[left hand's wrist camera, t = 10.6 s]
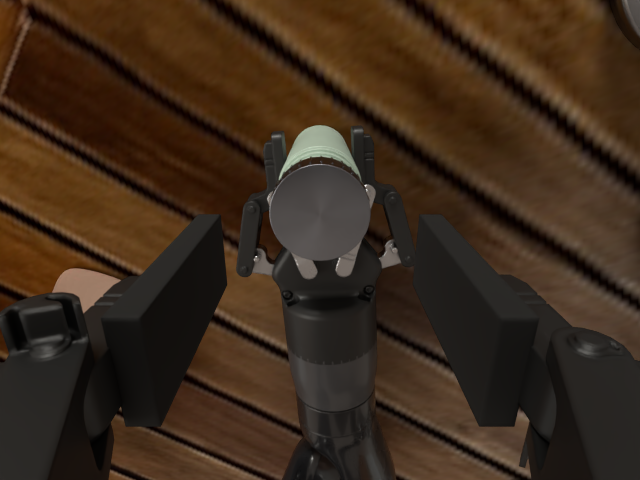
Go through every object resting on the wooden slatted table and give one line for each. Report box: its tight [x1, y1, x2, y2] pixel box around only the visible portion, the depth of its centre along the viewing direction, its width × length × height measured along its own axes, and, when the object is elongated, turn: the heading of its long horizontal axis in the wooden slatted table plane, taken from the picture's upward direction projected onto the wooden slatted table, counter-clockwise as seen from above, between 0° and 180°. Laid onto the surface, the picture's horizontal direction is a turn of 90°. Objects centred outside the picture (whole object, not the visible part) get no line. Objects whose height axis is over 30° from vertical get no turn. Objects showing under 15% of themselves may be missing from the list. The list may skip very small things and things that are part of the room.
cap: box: [269, 156, 371, 261], centre depth 19 cm, size 5×5×2 cm
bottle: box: [279, 125, 362, 182], centre depth 26 cm, size 5×5×17 cm
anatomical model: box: [52, 269, 121, 314], centre depth 39 cm, size 13×4×12 cm
